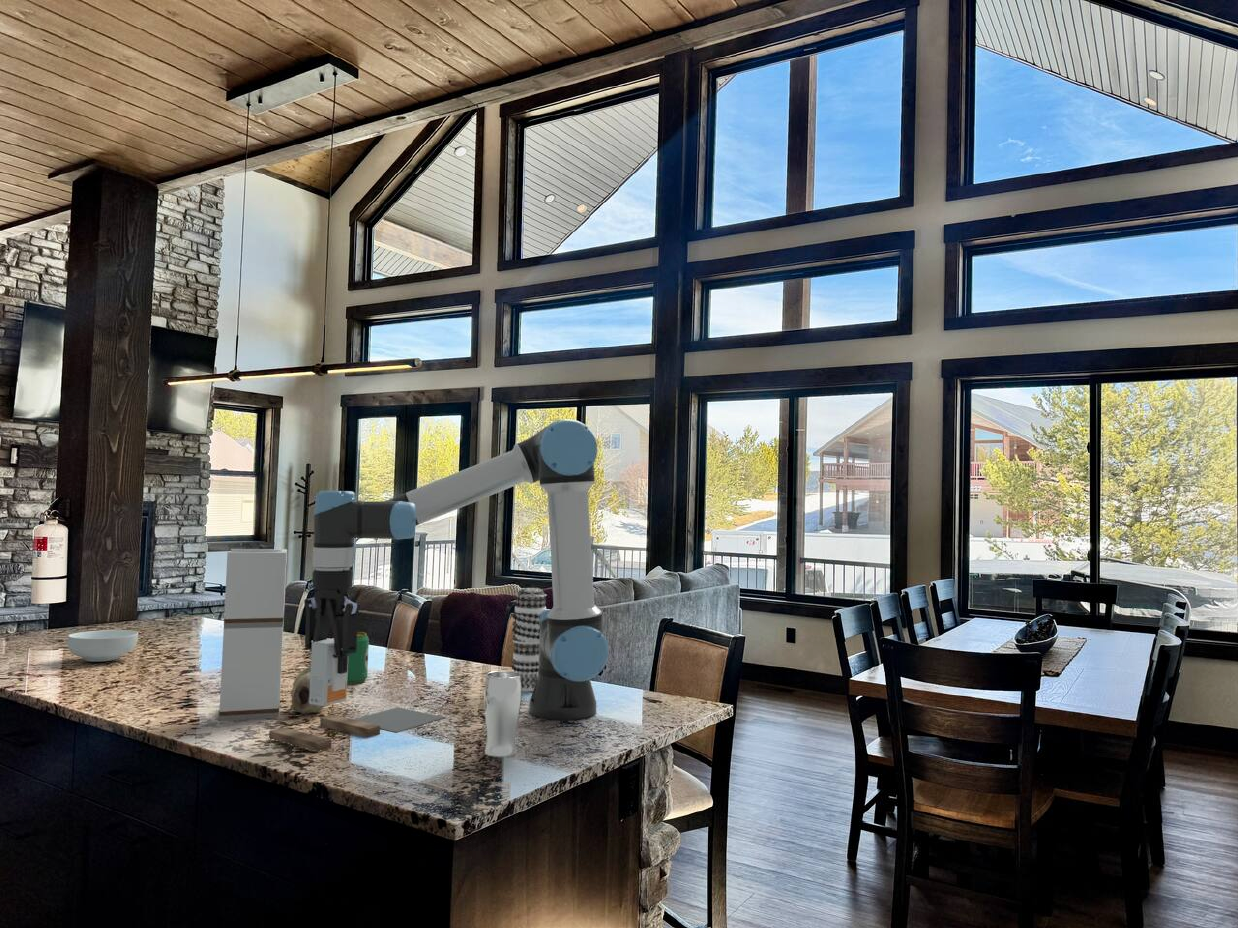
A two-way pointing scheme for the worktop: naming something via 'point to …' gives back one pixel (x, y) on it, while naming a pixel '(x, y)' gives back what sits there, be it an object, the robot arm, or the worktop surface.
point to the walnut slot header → (328, 722)
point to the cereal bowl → (102, 644)
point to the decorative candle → (527, 635)
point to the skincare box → (324, 675)
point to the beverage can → (358, 660)
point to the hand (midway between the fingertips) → (329, 687)
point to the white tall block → (253, 634)
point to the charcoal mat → (399, 719)
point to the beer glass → (502, 712)
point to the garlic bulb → (303, 694)
